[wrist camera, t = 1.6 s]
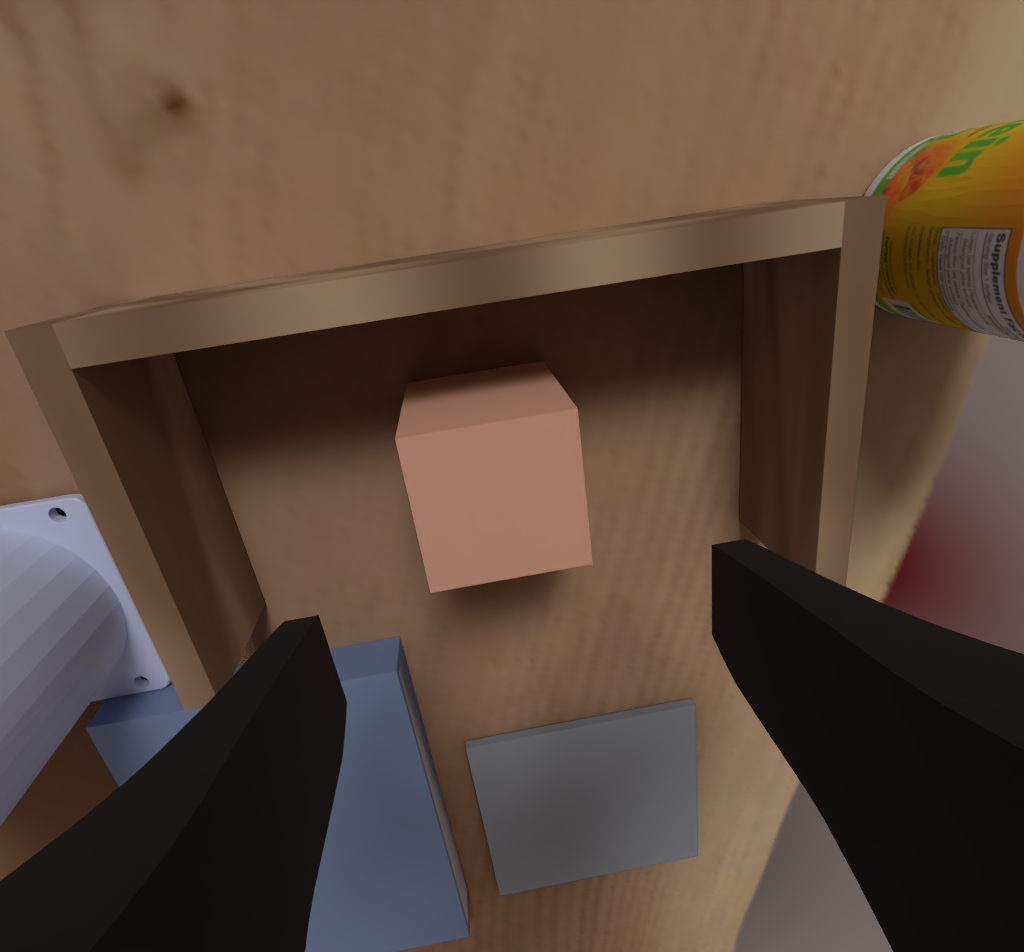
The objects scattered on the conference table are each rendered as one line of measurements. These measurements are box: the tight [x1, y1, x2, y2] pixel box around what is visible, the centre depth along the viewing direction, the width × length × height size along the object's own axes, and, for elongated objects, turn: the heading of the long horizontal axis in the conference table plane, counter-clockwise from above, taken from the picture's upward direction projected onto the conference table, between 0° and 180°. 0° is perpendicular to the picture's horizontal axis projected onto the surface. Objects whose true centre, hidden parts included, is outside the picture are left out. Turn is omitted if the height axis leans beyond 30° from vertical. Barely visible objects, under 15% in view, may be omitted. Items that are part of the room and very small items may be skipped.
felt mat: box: [466, 698, 698, 896], centre depth 28 cm, size 10×10×1 cm
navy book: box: [85, 636, 470, 952], centre depth 26 cm, size 16×11×2 cm
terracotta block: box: [395, 361, 593, 593], centre depth 18 cm, size 4×4×6 cm
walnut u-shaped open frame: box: [4, 195, 886, 710], centre depth 18 cm, size 20×11×5 cm, turn 98°
